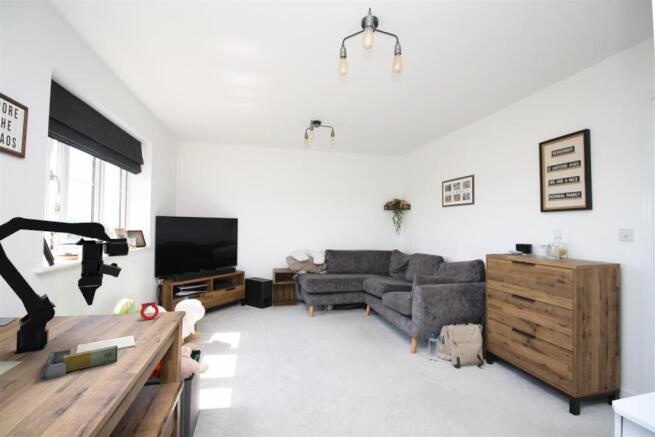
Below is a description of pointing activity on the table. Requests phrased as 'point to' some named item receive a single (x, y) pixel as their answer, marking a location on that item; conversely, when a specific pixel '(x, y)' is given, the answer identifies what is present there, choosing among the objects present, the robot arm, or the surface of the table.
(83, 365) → the medication box
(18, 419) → the table surface
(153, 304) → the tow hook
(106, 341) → the felt pad
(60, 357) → the cradle stand
